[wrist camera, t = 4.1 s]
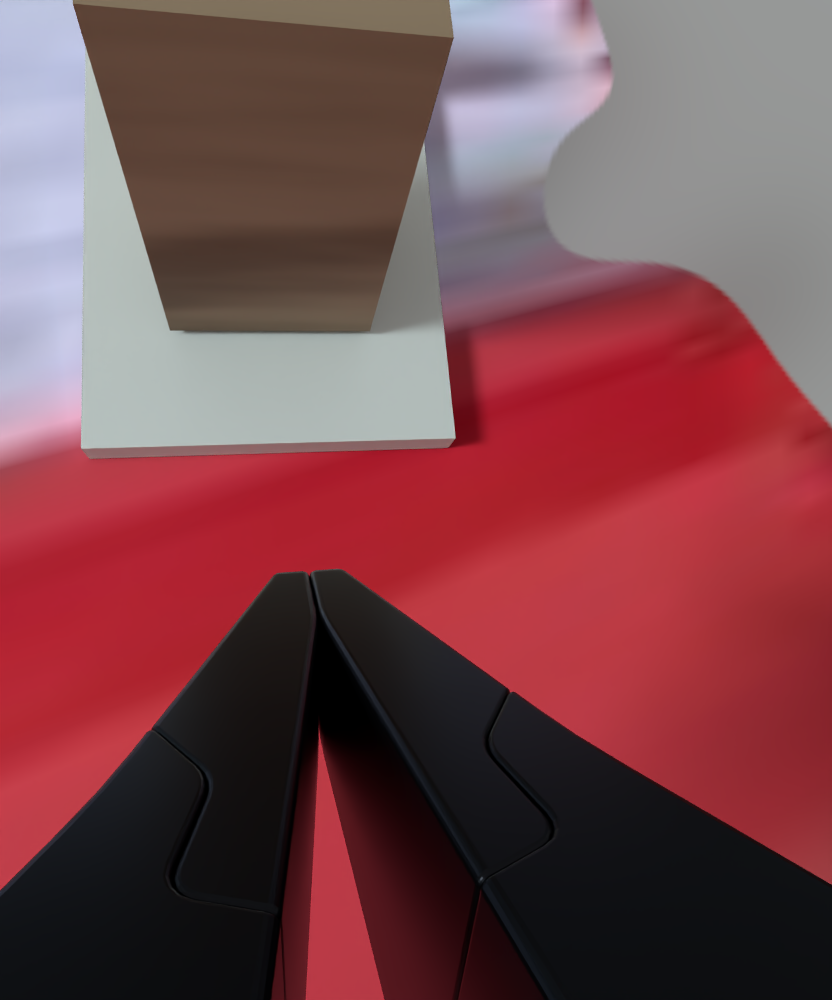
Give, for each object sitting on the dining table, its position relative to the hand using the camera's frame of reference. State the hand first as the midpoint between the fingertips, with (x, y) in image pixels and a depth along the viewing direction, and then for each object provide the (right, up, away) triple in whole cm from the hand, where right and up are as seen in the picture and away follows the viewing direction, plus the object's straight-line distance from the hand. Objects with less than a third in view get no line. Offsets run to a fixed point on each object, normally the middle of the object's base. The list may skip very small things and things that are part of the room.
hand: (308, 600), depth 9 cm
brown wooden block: (-3, +9, +14) cm, 17 cm away
